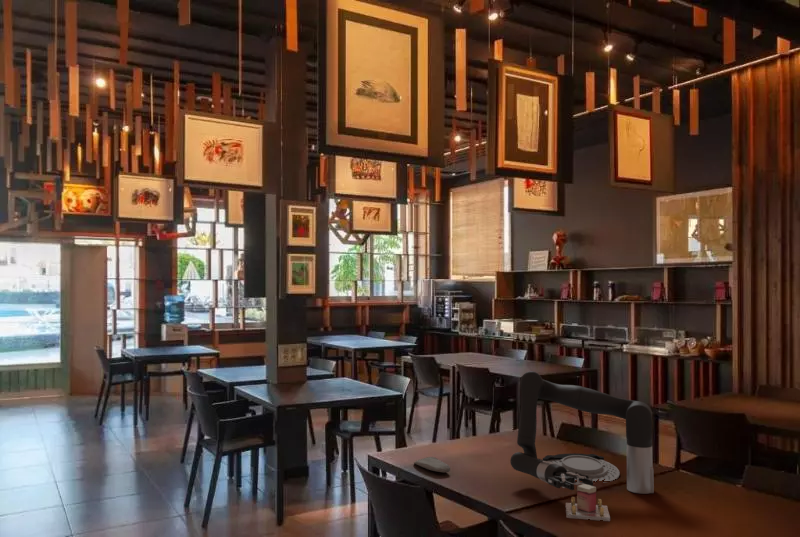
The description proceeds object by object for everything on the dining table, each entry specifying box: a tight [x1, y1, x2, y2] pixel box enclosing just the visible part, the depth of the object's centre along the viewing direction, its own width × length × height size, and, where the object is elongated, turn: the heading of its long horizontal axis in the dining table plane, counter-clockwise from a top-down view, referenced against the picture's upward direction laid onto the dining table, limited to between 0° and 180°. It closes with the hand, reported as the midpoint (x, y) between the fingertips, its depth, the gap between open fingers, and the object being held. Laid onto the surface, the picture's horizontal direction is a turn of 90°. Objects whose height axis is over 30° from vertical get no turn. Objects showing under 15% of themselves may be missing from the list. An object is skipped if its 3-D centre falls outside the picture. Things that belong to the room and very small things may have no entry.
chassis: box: [565, 496, 611, 522], centre depth 222 cm, size 14×12×4 cm
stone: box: [413, 456, 451, 473], centre depth 276 cm, size 24×4×10 cm
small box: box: [576, 484, 597, 512], centre depth 223 cm, size 5×4×8 cm
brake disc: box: [542, 452, 621, 482], centre depth 273 cm, size 32×30×5 cm
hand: (583, 485), depth 224 cm, fingers open, 8 cm apart
